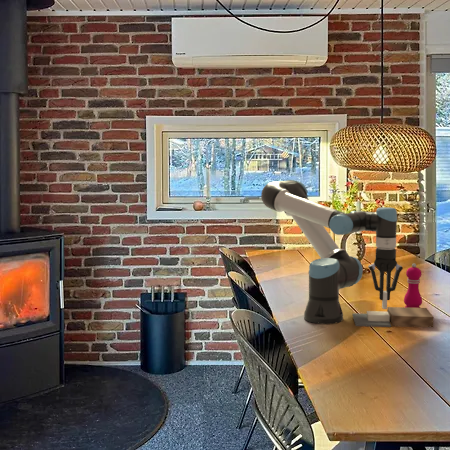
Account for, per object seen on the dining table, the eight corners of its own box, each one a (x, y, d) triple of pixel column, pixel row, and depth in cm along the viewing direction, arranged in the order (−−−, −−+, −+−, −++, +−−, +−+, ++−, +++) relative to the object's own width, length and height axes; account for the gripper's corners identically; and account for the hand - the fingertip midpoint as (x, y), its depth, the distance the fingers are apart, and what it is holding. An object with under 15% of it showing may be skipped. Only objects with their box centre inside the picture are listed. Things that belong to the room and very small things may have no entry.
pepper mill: (424, 313, 242) (425, 265, 240) (406, 313, 242) (407, 265, 240) (418, 309, 249) (420, 261, 247) (401, 309, 250) (402, 261, 247)
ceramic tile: (368, 320, 230) (368, 314, 230) (366, 317, 235) (366, 311, 235) (389, 321, 229) (389, 315, 229) (387, 317, 234) (387, 311, 234)
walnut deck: (392, 326, 225) (392, 315, 225) (387, 316, 238) (387, 307, 238) (433, 327, 223) (433, 316, 223) (426, 317, 236) (426, 307, 236)
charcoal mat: (355, 326, 226) (355, 323, 226) (352, 315, 241) (352, 313, 241) (391, 326, 224) (391, 324, 224) (385, 316, 239) (385, 314, 239)
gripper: (369, 249, 226) (368, 310, 229) (405, 249, 224) (403, 311, 227) (367, 246, 233) (366, 305, 236) (401, 246, 231) (400, 306, 234)
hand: (384, 308), depth 231 cm, fingers closed
